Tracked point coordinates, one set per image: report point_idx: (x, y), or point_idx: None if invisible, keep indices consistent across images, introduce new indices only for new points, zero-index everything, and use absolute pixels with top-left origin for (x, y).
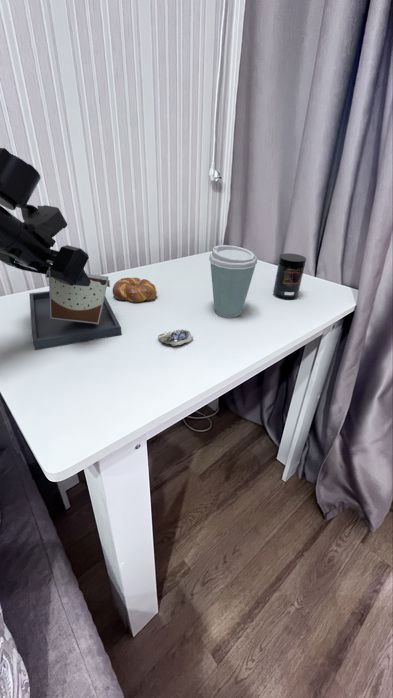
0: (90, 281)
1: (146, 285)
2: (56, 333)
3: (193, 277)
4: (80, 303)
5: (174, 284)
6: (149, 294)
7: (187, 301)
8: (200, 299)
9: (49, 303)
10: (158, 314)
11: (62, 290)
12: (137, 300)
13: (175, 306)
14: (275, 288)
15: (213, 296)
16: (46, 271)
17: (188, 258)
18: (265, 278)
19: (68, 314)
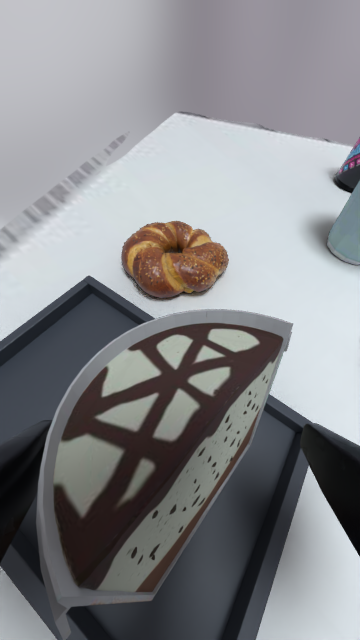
0: (320, 426)
1: (211, 243)
2: (173, 577)
3: (207, 182)
4: (222, 464)
5: (201, 209)
6: (226, 263)
7: (271, 247)
8: (281, 234)
9: (2, 413)
10: (277, 308)
11: (172, 521)
12: (209, 287)
13: (272, 269)
14: (353, 178)
15: (353, 232)
16: (3, 535)
17: (149, 140)
18: (291, 158)
19: (196, 520)
